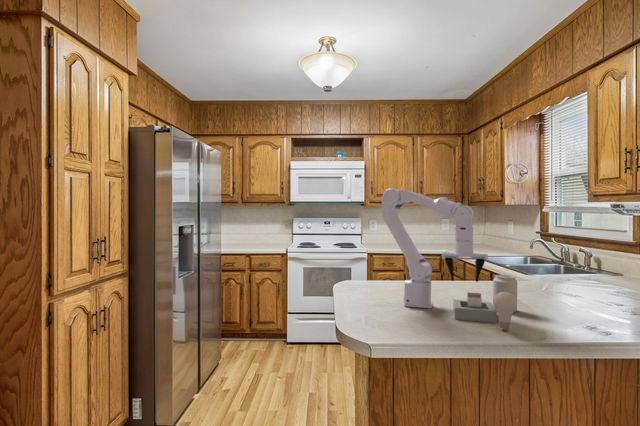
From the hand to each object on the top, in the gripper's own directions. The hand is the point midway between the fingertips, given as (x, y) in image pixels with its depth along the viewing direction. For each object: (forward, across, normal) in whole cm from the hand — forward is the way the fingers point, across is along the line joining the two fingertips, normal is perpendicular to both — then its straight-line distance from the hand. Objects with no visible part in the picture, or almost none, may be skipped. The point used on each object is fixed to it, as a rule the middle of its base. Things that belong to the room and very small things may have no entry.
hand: (464, 280), depth 124 cm
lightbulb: (+11, +9, -18) cm, 23 cm away
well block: (+10, +2, -5) cm, 12 cm away
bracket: (+10, +2, -5) cm, 12 cm away
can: (+11, +13, +6) cm, 18 cm away
